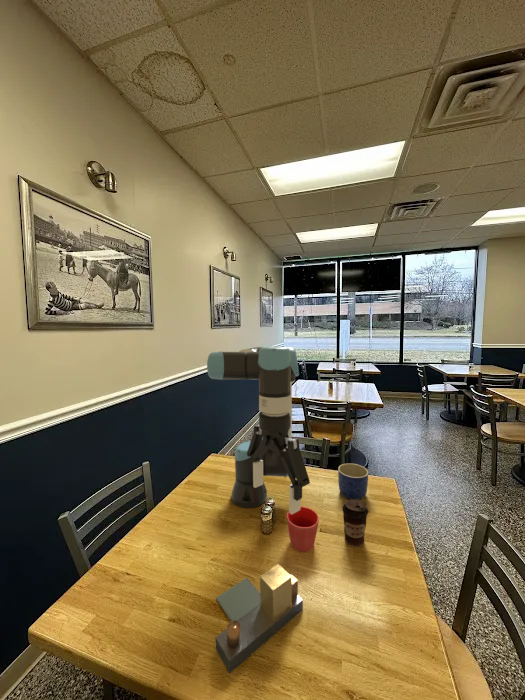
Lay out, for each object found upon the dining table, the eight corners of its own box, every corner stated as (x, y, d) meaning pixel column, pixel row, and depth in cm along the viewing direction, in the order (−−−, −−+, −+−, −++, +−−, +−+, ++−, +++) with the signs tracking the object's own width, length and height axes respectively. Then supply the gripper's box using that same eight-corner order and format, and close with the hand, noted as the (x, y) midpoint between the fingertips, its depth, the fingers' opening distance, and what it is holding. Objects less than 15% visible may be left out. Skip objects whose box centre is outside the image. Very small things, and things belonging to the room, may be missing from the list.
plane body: (229, 673, 61) (228, 643, 61) (215, 649, 66) (214, 620, 65) (302, 610, 75) (302, 585, 74) (286, 593, 79) (286, 569, 79)
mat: (216, 599, 78) (216, 597, 78) (246, 579, 84) (246, 577, 84) (236, 630, 70) (236, 627, 70) (268, 605, 76) (268, 603, 76)
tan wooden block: (273, 621, 69) (272, 590, 68) (260, 605, 73) (260, 576, 72) (291, 606, 73) (291, 576, 72) (278, 592, 77) (278, 563, 76)
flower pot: (322, 537, 100) (322, 510, 100) (313, 560, 90) (313, 531, 90) (292, 528, 105) (292, 503, 104) (282, 550, 95) (281, 522, 94)
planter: (370, 491, 128) (371, 467, 127) (363, 506, 117) (364, 480, 116) (342, 483, 134) (343, 460, 133) (334, 497, 124) (334, 472, 123)
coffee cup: (369, 552, 93) (370, 514, 92) (342, 548, 95) (343, 511, 94) (365, 533, 102) (366, 498, 101) (341, 530, 104) (341, 495, 103)
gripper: (233, 403, 76) (234, 481, 78) (301, 429, 56) (301, 532, 58) (256, 399, 81) (256, 472, 82) (326, 421, 61) (325, 517, 63)
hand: (275, 497), depth 70 cm, fingers open, 13 cm apart
